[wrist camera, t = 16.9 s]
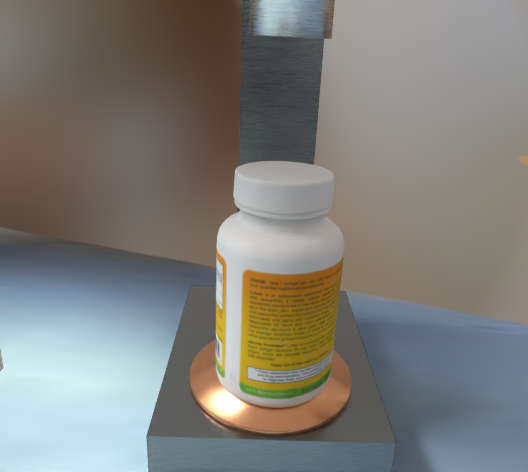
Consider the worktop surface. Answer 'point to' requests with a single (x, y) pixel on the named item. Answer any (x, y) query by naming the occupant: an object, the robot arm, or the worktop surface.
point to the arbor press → (204, 297)
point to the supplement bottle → (278, 284)
